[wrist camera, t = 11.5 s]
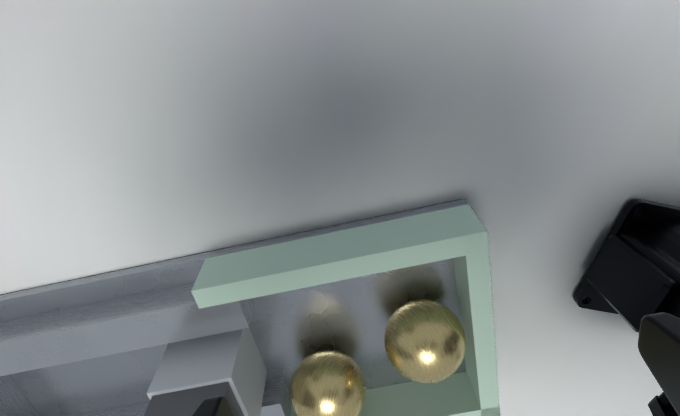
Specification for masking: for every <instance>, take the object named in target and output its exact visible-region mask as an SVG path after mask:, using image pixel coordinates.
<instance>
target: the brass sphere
mask: <svg viewBox="0 0 680 416" xmlns="http://www.w3.org/2000/svg"><path fill="white" fill-rule="evenodd" d="M290 397H291V402H292V406H293V408H294V410H295V412H296V414H297V416H358V415H359V414H360V412H361V410H362V408H363V406H364V403H365V398H366V382H365V378H364V375H363V373H362V370H361V369H360V367H359V366H358V364H357V363H356V362H355V361H354V360H353V359H352V358H351V357H350V356H348V355H347V354H345V353H343V352H340V351H336V350H320V351H317V352H315V353H312V354H310V355H309V356H307V357H306V358H305V359H304V360H303V361H302V362H301V363H300V364H299V365H298V367H297V368H296V370H295V372H294V374H293V377H292V380H291V385H290Z"/></svg>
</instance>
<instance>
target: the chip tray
mask: <svg viewBox="0 0 680 416" xmlns="http://www.w3.org/2000/svg"><path fill="white" fill-rule="evenodd" d="M451 258H453V260H454V269H455V277H456V286H457V295H458V304H459V313H460V321H461V324H462V326H463V329H464V332H465V336H466V352H465V356H464V357H465V365H466V372H461V373H456V374H453V375H451V376H450V377H448V378H447V379H445V380H443V381H440V382H437V383H431V384H424V383H418V382H414V381H412V382H407V383H401V384H396V385H390V386H385V387H379V388H374V389H368V390H366V398H365V403H364V406H363V408H362V410H361V412H360V414H359V415H358V416H500V404H499V390H498V375H497V360H496V346H495V331H494V316H493V302H492V287H491V272H490V258H489V243H488V231H487V229H486V228H485V227H484V225H483V224H482V222H481V221H480V220H479V218H478V217H477V215H476V214H475V212H474V211H473V210H472V208H471V207H470V205H469V204H467V205H462V206H457V207H452V208H447V209H443V210H438V211H433V212H428V213H423V214H418V215H414V216H409V217H404V218H399V219H394V220H389V221H385V222H380V223H375V224H370V225H365V226H360V227H356V228H351V229H346V230H341V231H336V232H331V233H326V234H322V235H317V236H312V237H307V238H302V239H297V240H293V241H288V242H283V243H278V244H273V245H268V246H264V247H259V248H254V249H249V250H244V251H239V252H235V253H230V254H225V255H220V256H215V257H210V258H206V259H205V261H204V263H203V265H202V268H201V270H200V272H199V274H198V277H197V279H196V281H195V283H194V286H193V288H192V290H191V292H192V294H193V296H194V299H195V301H196V303H197V305H198V307H199V309H200V308H205V307H210V306H215V305H220V304H225V303H230V302H235V301H240V300H245V299H251V298H256V297H261V296H266V295H271V294H276V293H281V292H286V291H291V290H296V289H301V288H306V287H311V286H316V285H321V284H326V283H331V282H336V281H341V280H346V279H351V278H356V277H361V276H366V275H371V274H376V273H381V272H386V271H391V270H396V269H401V268H406V267H411V266H416V265H421V264H426V263H431V262H436V261H441V260H446V259H451ZM291 416H297V414H296V412H295V410H294V408H293V406H292V404H291Z"/></svg>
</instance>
